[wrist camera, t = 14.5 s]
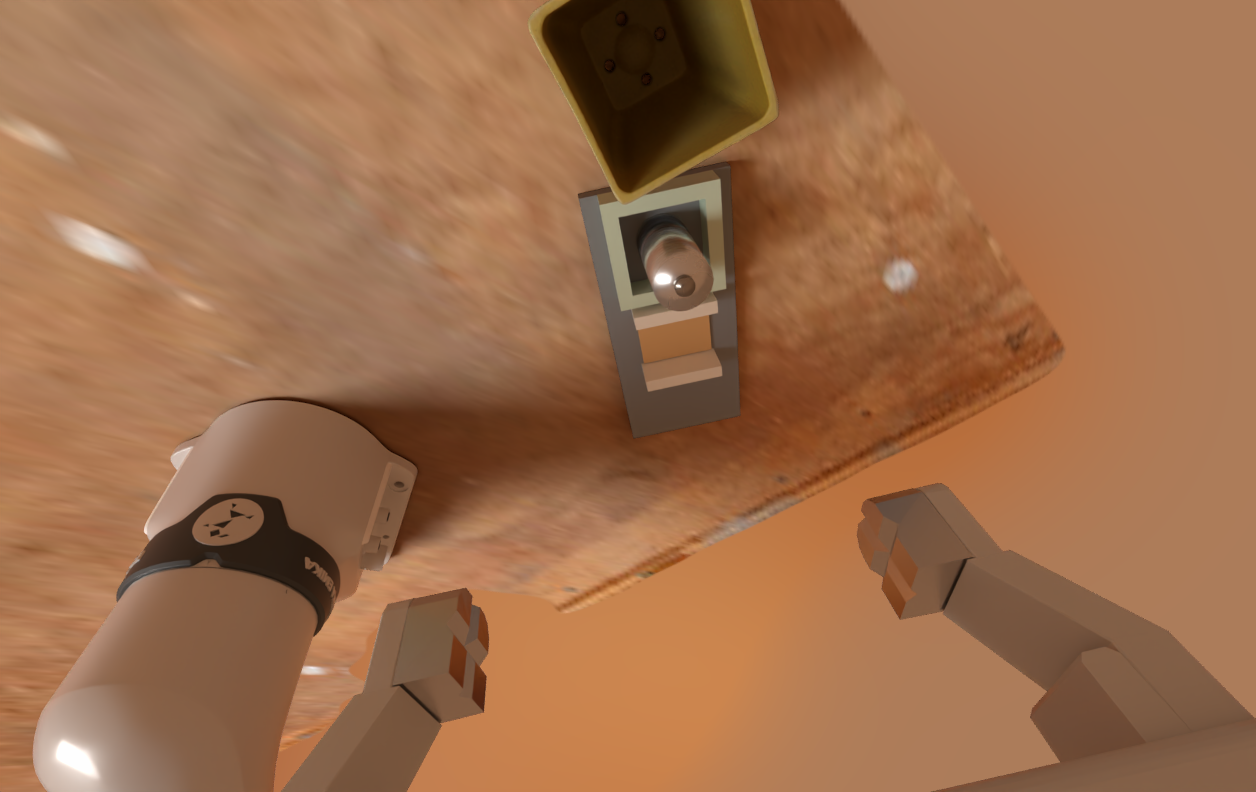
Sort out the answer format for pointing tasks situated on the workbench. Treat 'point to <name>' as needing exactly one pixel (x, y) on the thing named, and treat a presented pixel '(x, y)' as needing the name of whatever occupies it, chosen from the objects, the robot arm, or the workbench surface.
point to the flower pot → (657, 82)
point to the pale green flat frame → (666, 195)
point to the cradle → (676, 344)
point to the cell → (673, 263)
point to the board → (643, 407)
